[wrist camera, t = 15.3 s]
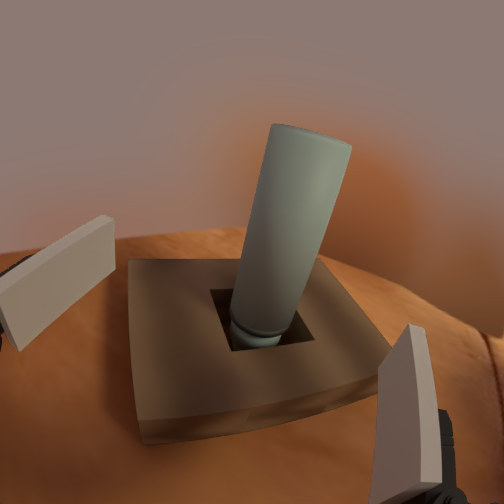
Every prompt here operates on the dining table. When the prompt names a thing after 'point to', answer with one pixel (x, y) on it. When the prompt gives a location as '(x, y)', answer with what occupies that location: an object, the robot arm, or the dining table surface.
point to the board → (240, 353)
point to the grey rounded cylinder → (284, 232)
